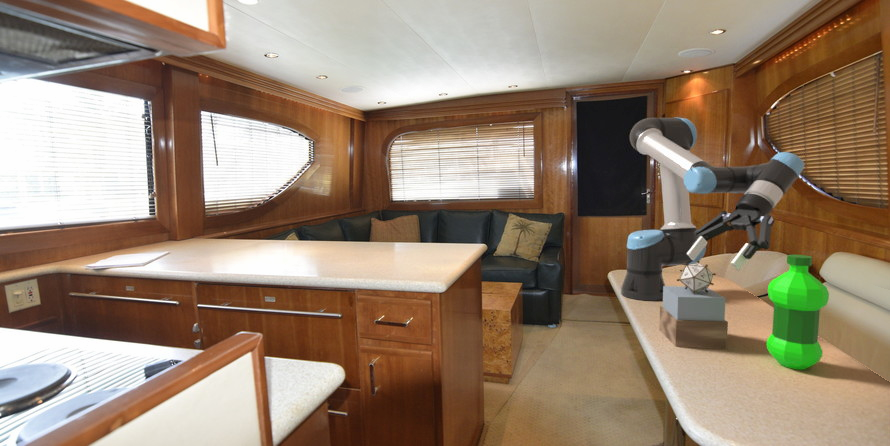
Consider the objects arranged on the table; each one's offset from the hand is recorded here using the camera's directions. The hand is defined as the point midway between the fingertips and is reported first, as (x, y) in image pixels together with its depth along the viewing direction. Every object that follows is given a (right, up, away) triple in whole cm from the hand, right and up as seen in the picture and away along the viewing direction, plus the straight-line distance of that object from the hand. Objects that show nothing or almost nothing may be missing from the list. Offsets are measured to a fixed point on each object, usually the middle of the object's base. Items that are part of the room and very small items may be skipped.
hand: (711, 261), depth 113 cm
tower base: (-4, -21, +2) cm, 21 cm away
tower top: (-4, -14, +1) cm, 15 cm away
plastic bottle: (+9, -22, -15) cm, 28 cm away
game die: (-4, -8, 0) cm, 9 cm away
